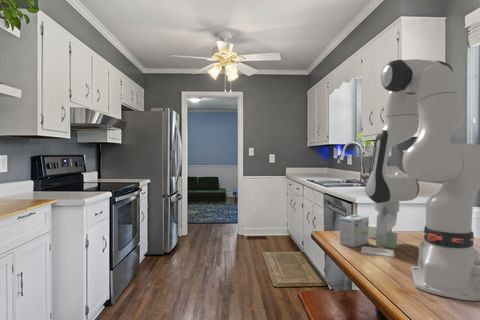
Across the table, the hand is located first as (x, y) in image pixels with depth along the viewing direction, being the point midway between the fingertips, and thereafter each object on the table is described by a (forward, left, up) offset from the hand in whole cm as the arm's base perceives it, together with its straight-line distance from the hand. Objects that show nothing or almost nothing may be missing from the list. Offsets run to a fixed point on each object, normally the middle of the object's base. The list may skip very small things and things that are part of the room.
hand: (386, 240), depth 124 cm
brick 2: (0, 0, -2) cm, 2 cm away
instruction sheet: (-11, +1, -2) cm, 11 cm away
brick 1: (+10, +6, -2) cm, 12 cm away
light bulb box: (-5, +11, -2) cm, 12 cm away
